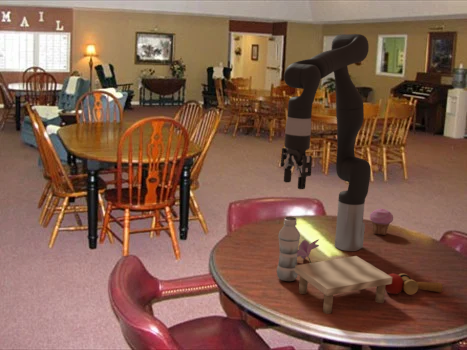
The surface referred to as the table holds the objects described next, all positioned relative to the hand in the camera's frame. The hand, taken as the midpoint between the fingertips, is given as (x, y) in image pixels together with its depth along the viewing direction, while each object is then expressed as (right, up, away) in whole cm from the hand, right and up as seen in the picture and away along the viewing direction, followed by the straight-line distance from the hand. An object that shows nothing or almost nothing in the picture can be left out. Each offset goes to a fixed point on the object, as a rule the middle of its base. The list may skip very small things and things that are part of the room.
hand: (294, 185), depth 172 cm
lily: (+5, -27, +18) cm, 33 cm away
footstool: (+13, -33, -5) cm, 35 cm away
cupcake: (+39, -20, +50) cm, 66 cm away
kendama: (+35, -32, -1) cm, 48 cm away
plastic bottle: (-2, -30, +5) cm, 30 cm away
